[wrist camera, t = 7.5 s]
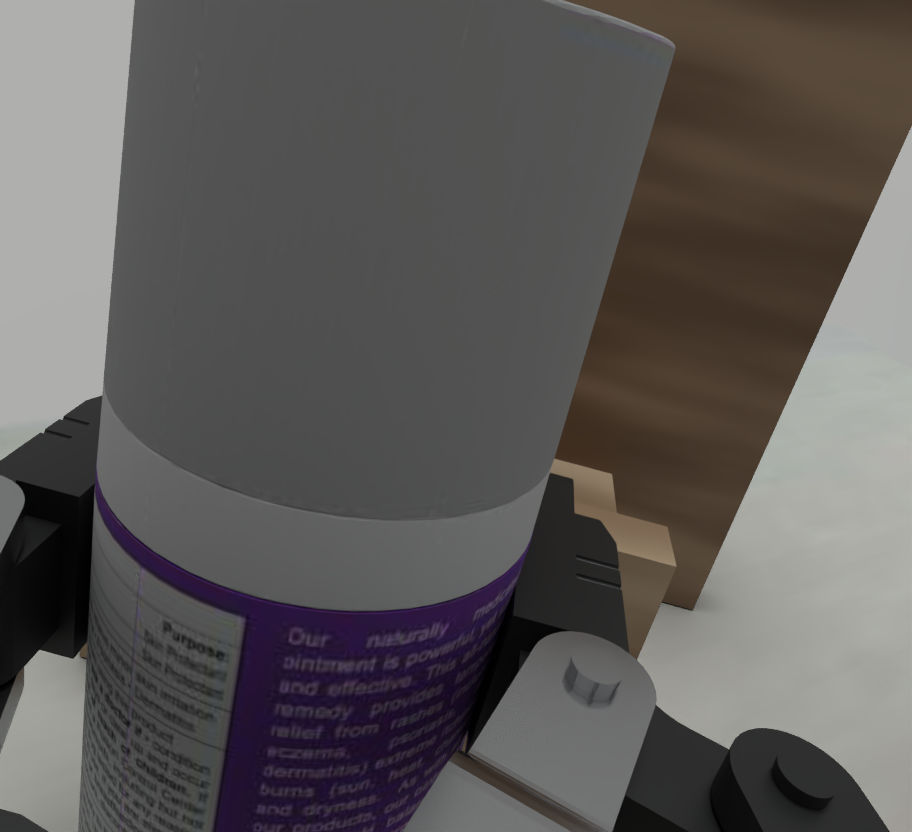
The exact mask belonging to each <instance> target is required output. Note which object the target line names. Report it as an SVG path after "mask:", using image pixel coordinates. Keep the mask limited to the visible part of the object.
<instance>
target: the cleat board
mask: <svg viewBox="0 0 912 832" xmlns="http://www.w3.org/2000/svg"><path fill="white" fill-rule="evenodd" d="M564 1H567V2H570V3H573V4H576V5H579V6H582V7H586V8H589V9H592V10H595V11H598V12H601V13H604V14H607V15H610V16H613V17H616V18H618V19H621V20H624V21H627V22H630V23H632V24H634V25H637V26H639V27H642V28H644V29H647V30H649V31H652V32H654V33H656V34H659V35H661V36H664V37H665V38H667V39H668V40H670V41H672V42H673V43H674V45H675V53H674V56H673V59H672V63H671V66H670V69H669V73H668V76H667V80H666V83H665V86H664V90H663V93H662V96H661V100H660V103H659V107H658V110H657V113H656V117H655V120H654V123H653V127H652V130H651V134H650V137H649V140H648V144H647V147H646V151H645V154H644V157H643V161H642V164H641V167H640V171H639V174H638V178H637V181H636V184H635V188H634V191H633V194H632V198H631V201H630V205H629V208H628V211H627V215H626V218H625V221H624V225H623V228H622V232H621V235H620V238H619V242H618V245H617V248H616V252H615V255H614V259H613V262H612V265H611V269H610V272H609V275H608V279H607V282H606V286H605V289H604V292H603V296H602V299H601V303H600V306H599V309H598V313H597V316H596V319H595V323H594V326H593V330H592V333H591V336H590V340H589V343H588V346H587V350H586V353H585V357H584V360H583V363H582V367H581V370H580V373H579V377H578V380H577V384H576V387H575V390H574V394H573V397H572V400H571V404H570V407H569V411H568V414H567V417H566V421H565V424H564V427H563V431H562V434H561V438H560V441H559V444H558V448H557V451H556V455H555V458H554V461H553V464H552V467H551V471H550V473H553V474H557V475H561V476H564V477H568V478H572V479H573V481H574V509H575V513H576V514H579V515H583V516H587V517H591V518H594V519H598V520H601V522H602V523H603V525H604V526H605V528H606V529H607V530H608V532H609V533H610V535H611V536H612V538H613V539H614V540H615V542H616V543H617V551H618V560H619V569H618V570H619V571H620V577H621V589H620V590H622V594H623V603H624V611H625V620H626V629H627V637H628V646H629V654H630V655H631V656H633V657H634V658H635V659H636V660H637V658H638V656H639V653H640V651H641V649H642V646H643V644H644V642H645V639H646V637H647V635H648V632H649V630H650V628H651V625H652V623H653V621H654V618H655V616H656V614H657V611H658V609H659V607H660V604H661V602H665V603H669V604H673V605H676V606H680V607H684V608H688V609H691V610H693V608H694V606H695V604H696V602H697V599H698V597H699V595H700V593H701V590H702V588H703V586H704V584H705V582H706V579H707V577H708V575H709V573H710V571H711V568H712V566H713V564H714V562H715V560H716V557H717V555H718V553H719V551H720V548H721V546H722V544H723V542H724V540H725V537H726V535H727V533H728V531H729V529H730V526H731V524H732V522H733V520H734V517H735V515H736V513H737V511H738V509H739V506H740V504H741V502H742V500H743V498H744V495H745V493H746V491H747V489H748V487H749V484H750V482H751V480H752V478H753V475H754V473H755V471H756V469H757V467H758V464H759V462H760V460H761V458H762V456H763V453H764V451H765V449H766V447H767V445H768V442H769V440H770V438H771V436H772V433H773V431H774V429H775V427H776V425H777V422H778V420H779V418H780V416H781V414H782V411H783V409H784V407H785V405H786V402H787V400H788V398H789V396H790V394H791V391H792V389H793V387H794V385H795V383H796V380H797V378H798V376H799V374H800V372H801V369H802V367H803V365H804V363H805V360H806V358H807V356H808V354H809V352H810V349H811V347H812V345H813V343H814V341H815V338H816V336H817V334H818V332H819V329H820V327H821V325H822V323H823V321H824V318H825V316H826V314H827V312H828V310H829V307H830V305H831V303H832V301H833V298H834V296H835V294H836V292H837V289H838V287H839V285H840V283H841V281H842V279H843V276H844V274H845V272H846V270H847V267H848V265H849V263H850V261H851V259H852V256H853V254H854V252H855V250H856V248H857V245H858V243H859V241H860V238H861V237H862V234H863V232H864V230H865V227H866V226H867V223H868V221H869V219H870V217H871V214H872V212H873V210H874V208H875V205H876V203H877V201H878V199H879V197H880V194H881V192H882V190H883V188H884V185H885V183H886V181H887V179H888V177H889V175H890V172H891V170H892V168H893V166H894V164H895V161H896V159H897V157H898V155H899V153H900V150H901V148H902V146H903V144H904V141H905V139H906V137H907V135H908V133H909V130H910V128H911V126H912V0H564ZM80 657H84V658H87V643H86V644H85V645H84V646H83V648H82V649H81V650H80ZM467 734H468V732H467ZM466 741H467V735H466V738H465V741H464V744H463V747H462V751H464V752H465V748H466Z"/></svg>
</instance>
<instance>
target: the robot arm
mask: <svg viewBox="0 0 912 832" xmlns="http://www.w3.org/2000/svg"><path fill="white" fill-rule="evenodd" d="M101 407H102V396H100V397H96V398H93V399H90V400H86V401H85V402H83V403H82V404H81V405H79V406H78V407H76V408H75V409H74V410H72V411H70V412H69V413H68V414H66V415H65V416H64V418H63V420H60V419H59V420H58V421H56V422H55V423H53V424H52V425H51V426H49V427H48V428H46V429H45V432H44V434H43V433H39V434H38V435H36V436H35V437H33V438H32V439H31V440H29V441H28V442H26V443H25V444H24V445H22V446H21V447H19V448H18V449H16V450H15V451H14V452H12V453H11V454H9V455H8V456H6V457H5V458H4V459H2V460H1V461H0V752H1V749H2V747H3V744H4V741H5V738H6V736H7V733H8V730H9V727H10V725H11V722H12V719H13V716H14V714H15V711H16V708H17V705H18V702H19V700H20V697H21V694H22V691H23V687H24V666H25V665H26V664H27V663H28V662H29V660H30V659H31V658H32V657H33V656H34V655H35V654H36V653H37V652H38V650H43V651H47V652H50V653H54V654H58V655H61V656H65V657H69V658H72V659H74V657H75V656H76V655H77V654H78V652H79V651H80V650H81V649H82V648H83V646H84V645H85V644H86V643H87V641H88V620H89V599H90V578H91V557H92V536H93V515H94V494H95V473H96V461H97V454H98V442H99V430H100V419H101ZM618 569H619V560H618V551H617V543H616V542H615V540H614V539H613V538H612V536H611V535H610V533H609V532H608V530H607V529H606V528H605V526H604V525H603V523H602V522H601V520H598V519H594V518H591V517H587V516H583V515H579V514H576V513H575V509H574V481H573V479H572V478H568V477H564V476H561V475H557V474H553V473H550V474H549V477H548V481H547V484H546V488H545V491H544V495H543V498H542V502H541V505H540V508H539V512H538V515H537V519H536V522H535V526H534V529H533V535H532V539H531V542H530V545H529V548H528V551H527V554H526V557H525V560H524V563H523V566H522V569H521V572H520V575H519V578H518V581H517V583H516V586H515V589H514V592H513V595H512V598H511V601H510V604H509V607H508V610H507V613H506V617H505V620H504V623H503V626H502V629H501V632H500V635H499V638H498V641H497V644H496V647H495V650H494V653H493V656H492V659H491V662H490V665H489V668H488V671H487V674H486V677H485V680H484V683H483V686H482V689H481V692H480V695H479V698H478V701H477V704H476V707H475V710H474V713H473V716H472V719H471V722H470V725H469V728H468V734H467V741H466V748H465V752H464V751H462V750H458V751H456V752H455V753H454V754H453V756H452V757H451V758H450V759H449V761H448V762H447V764H446V765H445V767H444V768H443V770H442V771H441V773H440V774H439V776H438V777H437V779H436V780H435V782H434V784H433V785H432V787H431V788H430V790H429V791H428V793H427V794H426V796H425V797H424V799H423V800H422V802H421V804H420V805H419V807H418V808H417V810H416V811H415V813H414V814H413V816H412V817H411V819H410V820H409V822H408V824H407V825H406V827H405V828H404V830H403V831H402V832H890V831H889V830H888V828H887V827H886V825H885V824H884V823H883V821H882V820H881V818H880V817H879V815H878V814H877V812H876V811H875V809H874V808H873V806H872V805H871V803H870V802H869V800H868V799H867V797H866V796H865V794H864V793H863V791H862V790H861V788H860V787H859V786H858V784H857V783H856V782H855V780H854V779H853V778H852V777H851V776H850V774H849V773H848V772H847V771H846V770H845V769H844V768H843V767H842V766H841V765H840V764H839V763H837V762H836V761H835V760H834V759H833V758H832V757H830V756H829V755H828V754H826V753H825V752H824V751H822V750H821V749H819V748H818V747H816V746H814V745H813V744H811V743H809V742H807V741H805V740H803V739H801V738H799V737H797V736H795V735H792V734H789V733H786V732H783V731H779V730H774V729H767V728H756V729H751V730H747V731H745V732H743V733H741V734H740V735H739V736H738V737H737V738H735V740H734V742H733V744H732V745H731V747H730V749H727V748H725V747H723V746H721V745H719V744H718V743H716V742H714V741H712V740H710V739H708V738H706V737H704V736H702V735H700V734H699V733H697V732H695V731H693V730H691V729H689V728H687V727H686V726H684V725H682V724H680V723H679V722H677V721H676V720H674V719H673V718H671V717H670V716H669V715H667V714H666V713H665V712H663V711H662V710H661V709H660V708H659V707H658V706H656V691H655V688H654V684H653V682H652V680H651V678H650V676H649V675H648V673H647V672H646V670H645V669H644V667H643V666H642V665H641V664H640V663H639V662H638V661H637V660H636V659H635V658H634V657H633V656H631V655H630V654H629V646H628V637H627V629H626V620H625V611H624V603H623V594H622V590H620V589H621V577H620V571H619V570H618ZM0 832H48V831H46V830H45V829H43V828H42V827H40V826H38V825H37V824H35V823H34V822H32V821H30V820H29V819H27V818H26V817H24V816H22V815H20V814H17V813H13V812H10V811H6V810H2V809H0Z"/></svg>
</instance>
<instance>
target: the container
mask: <svg viewBox="0 0 912 832" xmlns="http://www.w3.org/2000/svg"><path fill="white" fill-rule="evenodd" d="M674 53H675V45H674V43H673V42H672V41H670V40H668V39H667V38H665V37H664V36H661V35H659V34H656V33H654V32H652V31H649V30H647V29H644V28H642V27H639V26H637V25H634V24H632V23H630V22H627V21H624V20H621V19H618V18H616V17H613V16H610V15H607V14H604V13H601V12H598V11H595V10H592V9H589V8H586V7H582V6H579V5H576V4H573V3H570V2H567V1H564V0H135V6H134V18H133V30H132V43H131V54H130V66H129V78H128V91H127V103H126V116H125V128H124V140H123V152H122V164H121V176H120V189H119V200H118V212H117V225H116V237H115V249H114V261H113V273H112V285H111V298H110V310H109V323H108V335H107V347H106V359H105V371H104V385H103V396H102V407H101V419H100V430H99V442H98V454H97V461H96V473H95V494H94V515H93V536H92V557H91V578H90V599H89V620H88V641H87V662H86V683H85V704H84V725H83V745H82V766H81V787H80V808H79V829H78V832H402V831H403V830H404V828H405V827H406V825H407V824H408V822H409V820H410V819H411V817H412V816H413V814H414V813H415V811H416V810H417V808H418V807H419V805H420V804H421V802H422V800H423V799H424V797H425V796H426V794H427V793H428V791H429V790H430V788H431V787H432V785H433V784H434V782H435V780H436V779H437V777H438V776H439V774H440V773H441V771H442V770H443V768H444V767H445V765H446V764H447V762H448V761H449V759H450V758H451V757H452V756H453V754H454V753H455V752H456V751H458V750H462V747H463V744H464V741H465V738H466V735H467V732H468V728H469V725H470V722H471V719H472V716H473V713H474V710H475V707H476V704H477V701H478V698H479V695H480V692H481V689H482V686H483V683H484V680H485V677H486V674H487V671H488V668H489V665H490V662H491V659H492V656H493V653H494V650H495V647H496V644H497V641H498V638H499V635H500V632H501V629H502V626H503V623H504V620H505V617H506V613H507V610H508V607H509V604H510V601H511V598H512V595H513V592H514V589H515V586H516V583H517V581H518V578H519V575H520V572H521V569H522V566H523V563H524V560H525V557H526V554H527V551H528V548H529V545H530V542H531V539H532V535H533V529H534V526H535V522H536V519H537V515H538V512H539V508H540V505H541V502H542V498H543V495H544V491H545V488H546V484H547V481H548V477H549V474H550V471H551V467H552V464H553V461H554V458H555V455H556V451H557V448H558V444H559V441H560V438H561V434H562V431H563V427H564V424H565V421H566V417H567V414H568V411H569V407H570V404H571V400H572V397H573V394H574V390H575V387H576V384H577V380H578V377H579V373H580V370H581V367H582V363H583V360H584V357H585V353H586V350H587V346H588V343H589V340H590V336H591V333H592V330H593V326H594V323H595V319H596V316H597V313H598V309H599V306H600V303H601V299H602V296H603V292H604V289H605V286H606V282H607V279H608V275H609V272H610V269H611V265H612V262H613V259H614V255H615V252H616V248H617V245H618V242H619V238H620V235H621V232H622V228H623V225H624V221H625V218H626V215H627V211H628V208H629V205H630V201H631V198H632V194H633V191H634V188H635V184H636V181H637V178H638V174H639V171H640V167H641V164H642V161H643V157H644V154H645V151H646V147H647V144H648V140H649V137H650V134H651V130H652V127H653V123H654V120H655V117H656V113H657V110H658V107H659V103H660V100H661V96H662V93H663V90H664V86H665V83H666V80H667V76H668V73H669V69H670V66H671V63H672V59H673V56H674Z"/></svg>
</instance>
